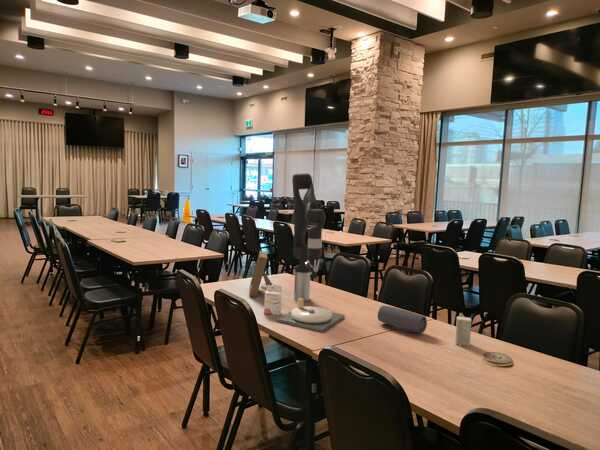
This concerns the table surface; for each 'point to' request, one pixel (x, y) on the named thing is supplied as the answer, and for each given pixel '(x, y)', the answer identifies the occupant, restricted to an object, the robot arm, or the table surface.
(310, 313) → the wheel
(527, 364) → the table surface
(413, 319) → the bluetooth speaker
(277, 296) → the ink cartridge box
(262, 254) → the photo frame
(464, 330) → the skincare box
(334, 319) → the base plate
